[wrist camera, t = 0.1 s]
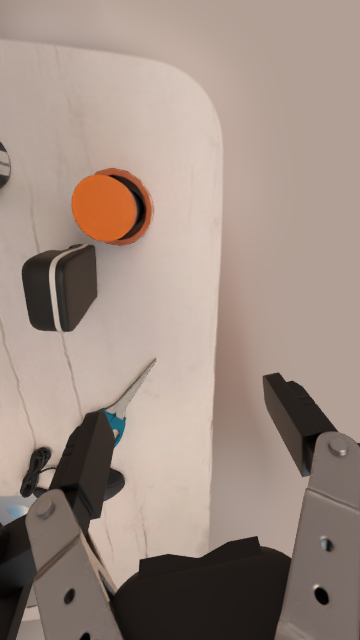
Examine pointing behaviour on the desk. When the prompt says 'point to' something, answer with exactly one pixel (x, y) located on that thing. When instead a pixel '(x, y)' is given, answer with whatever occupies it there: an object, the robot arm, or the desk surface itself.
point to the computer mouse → (114, 477)
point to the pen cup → (144, 195)
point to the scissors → (123, 406)
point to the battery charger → (60, 287)
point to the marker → (105, 208)
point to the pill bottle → (4, 165)
